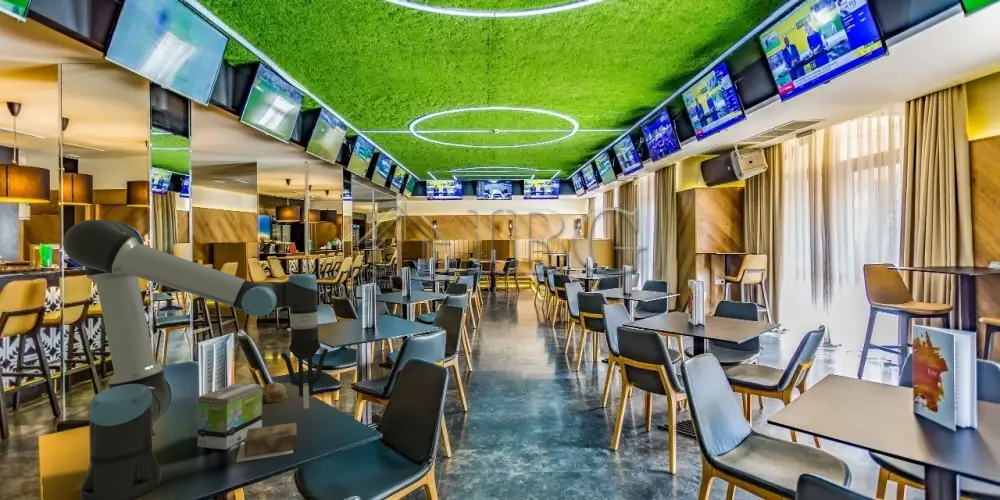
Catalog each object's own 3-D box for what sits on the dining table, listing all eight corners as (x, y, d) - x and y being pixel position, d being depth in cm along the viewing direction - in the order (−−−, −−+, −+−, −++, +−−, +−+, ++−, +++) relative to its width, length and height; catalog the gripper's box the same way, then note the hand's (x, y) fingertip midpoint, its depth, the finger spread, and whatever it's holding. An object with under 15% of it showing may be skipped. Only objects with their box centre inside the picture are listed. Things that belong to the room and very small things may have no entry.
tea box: (227, 450, 136) (226, 398, 135) (196, 447, 138) (196, 396, 137) (263, 430, 150) (263, 383, 150) (235, 428, 152) (235, 381, 152)
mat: (235, 462, 128) (235, 460, 128) (241, 443, 140) (241, 442, 140) (293, 453, 134) (293, 452, 134) (293, 436, 146) (293, 434, 146)
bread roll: (284, 411, 178) (293, 390, 180) (256, 403, 173) (266, 382, 175) (280, 403, 187) (289, 383, 188) (253, 396, 182) (263, 376, 183)
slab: (296, 449, 135) (244, 457, 130) (296, 436, 144) (248, 443, 139) (296, 434, 135) (244, 442, 130) (296, 422, 144) (247, 429, 139)
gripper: (279, 330, 134) (281, 414, 135) (328, 326, 139) (330, 407, 140) (280, 326, 141) (282, 406, 142) (327, 323, 146) (329, 399, 147)
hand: (306, 406), depth 141 cm, fingers closed
